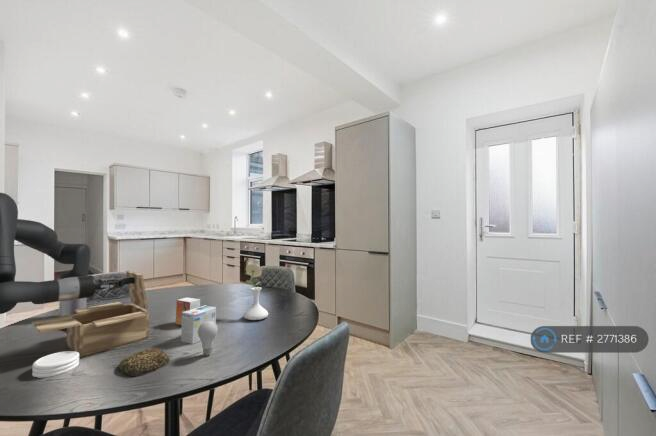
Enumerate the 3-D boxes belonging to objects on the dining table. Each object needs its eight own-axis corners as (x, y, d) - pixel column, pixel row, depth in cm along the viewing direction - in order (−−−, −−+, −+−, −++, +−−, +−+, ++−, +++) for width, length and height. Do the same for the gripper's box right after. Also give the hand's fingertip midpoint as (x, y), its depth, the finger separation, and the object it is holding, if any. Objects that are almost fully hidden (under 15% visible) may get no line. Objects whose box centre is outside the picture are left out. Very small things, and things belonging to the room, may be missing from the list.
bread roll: (127, 381, 78) (128, 363, 78) (115, 366, 86) (115, 349, 86) (176, 364, 88) (177, 348, 88) (161, 352, 96) (161, 337, 96)
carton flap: (131, 302, 115) (125, 271, 114) (133, 301, 116) (128, 270, 115) (145, 308, 107) (140, 275, 106) (147, 308, 108) (142, 274, 106)
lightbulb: (204, 361, 90) (205, 325, 90) (193, 356, 93) (194, 322, 93) (221, 353, 95) (221, 320, 95) (209, 349, 98) (210, 317, 98)
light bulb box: (204, 331, 114) (204, 304, 115) (216, 334, 111) (217, 306, 112) (180, 341, 105) (180, 311, 105) (192, 344, 102) (193, 314, 102)
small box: (175, 324, 122) (176, 299, 122) (186, 320, 127) (186, 296, 127) (189, 327, 119) (189, 301, 119) (199, 323, 124) (200, 298, 124)
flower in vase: (273, 317, 133) (274, 263, 134) (255, 324, 124) (256, 266, 124) (253, 312, 140) (254, 261, 141) (235, 318, 131) (236, 263, 131)
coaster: (23, 381, 77) (24, 368, 77) (43, 365, 86) (43, 353, 86) (70, 374, 81) (71, 362, 81) (84, 359, 90) (84, 348, 90)
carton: (27, 349, 96) (28, 317, 96) (126, 325, 119) (127, 300, 120) (42, 374, 81) (44, 336, 81) (154, 341, 104) (155, 312, 104)
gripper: (80, 279, 92) (141, 272, 106) (70, 274, 100) (127, 268, 114) (80, 302, 92) (140, 292, 106) (70, 296, 100) (127, 287, 114)
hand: (133, 280), depth 110 cm, fingers closed
